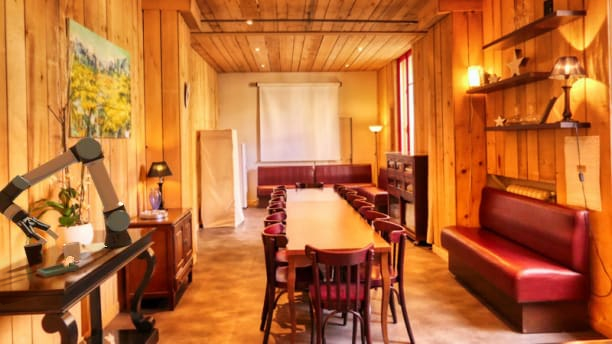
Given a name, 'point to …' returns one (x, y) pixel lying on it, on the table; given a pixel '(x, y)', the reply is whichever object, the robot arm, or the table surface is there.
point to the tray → (57, 270)
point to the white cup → (72, 250)
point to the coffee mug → (34, 253)
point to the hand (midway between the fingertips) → (52, 240)
